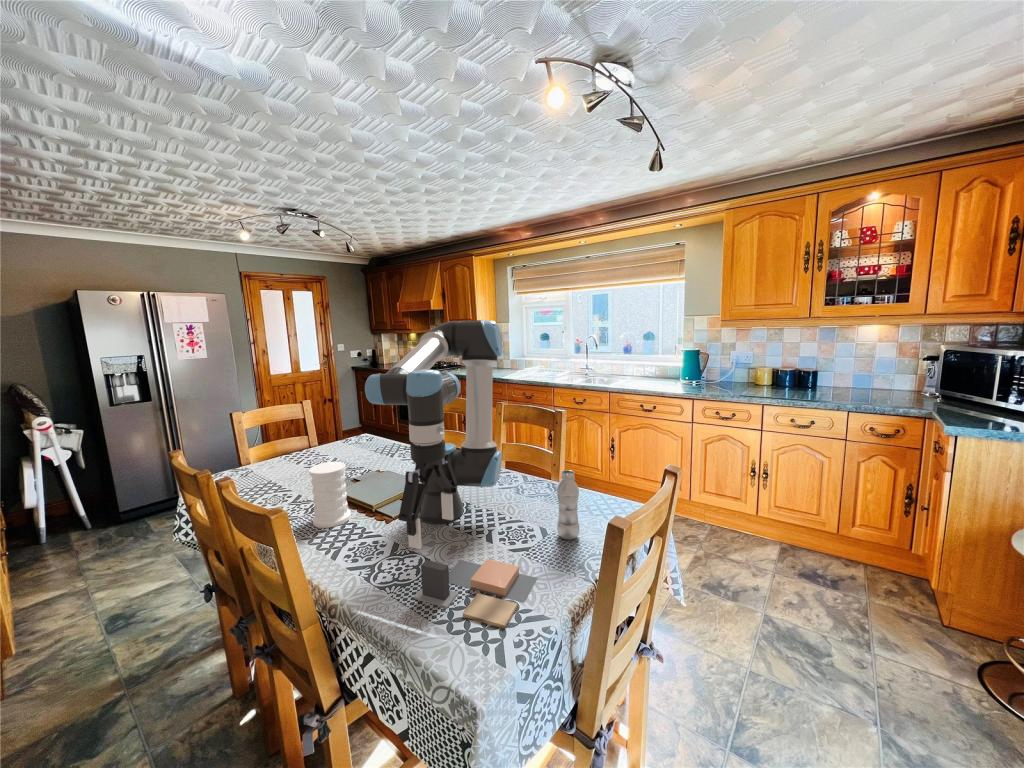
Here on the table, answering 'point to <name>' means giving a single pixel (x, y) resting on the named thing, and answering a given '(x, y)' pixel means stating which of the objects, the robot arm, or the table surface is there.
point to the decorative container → (329, 494)
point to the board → (490, 610)
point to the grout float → (435, 585)
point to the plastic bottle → (568, 506)
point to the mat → (462, 578)
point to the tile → (495, 577)
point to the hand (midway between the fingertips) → (432, 532)
